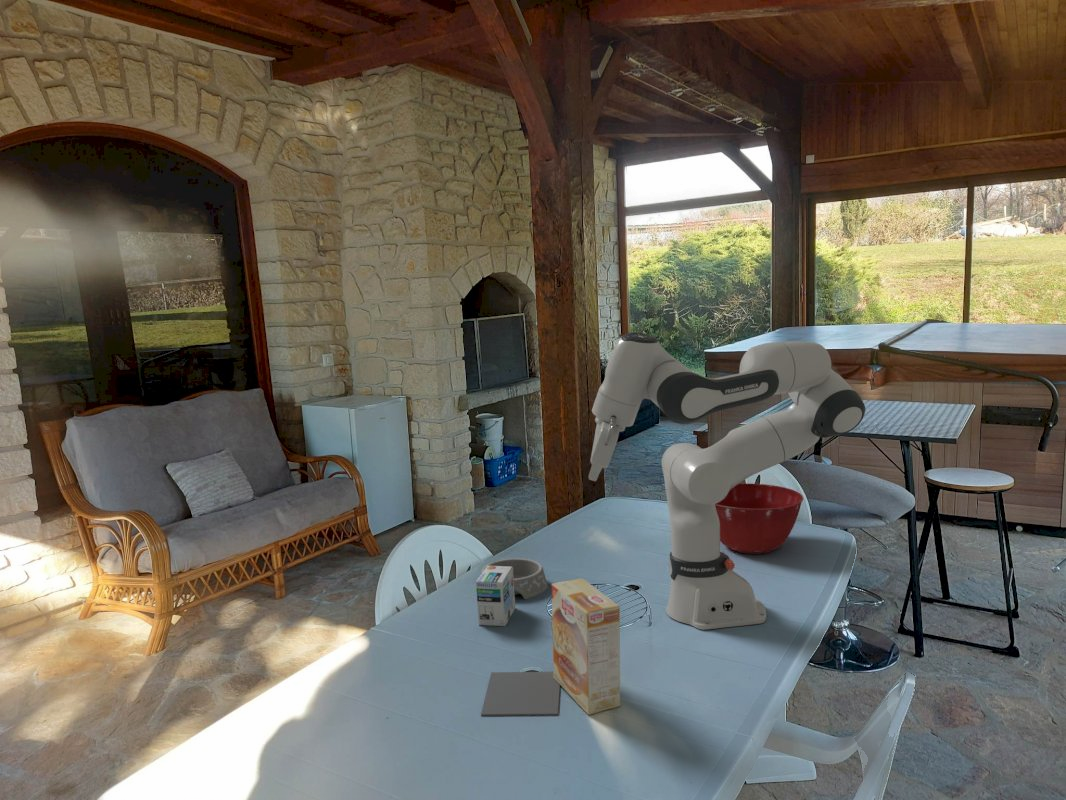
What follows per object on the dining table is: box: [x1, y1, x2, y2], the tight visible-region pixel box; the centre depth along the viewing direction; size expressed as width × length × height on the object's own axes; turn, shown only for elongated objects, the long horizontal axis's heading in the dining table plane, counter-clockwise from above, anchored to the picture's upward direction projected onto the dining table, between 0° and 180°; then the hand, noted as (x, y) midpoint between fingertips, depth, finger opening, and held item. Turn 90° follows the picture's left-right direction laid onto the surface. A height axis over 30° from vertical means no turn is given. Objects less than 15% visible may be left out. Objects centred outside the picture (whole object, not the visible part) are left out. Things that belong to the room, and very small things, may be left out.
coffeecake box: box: [551, 577, 621, 716], centre depth 138 cm, size 15×7×20 cm, turn 23°
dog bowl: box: [480, 557, 549, 600], centre depth 193 cm, size 17×18×5 cm
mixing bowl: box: [715, 482, 804, 555], centre depth 213 cm, size 28×28×16 cm
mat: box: [480, 671, 561, 717], centre depth 141 cm, size 14×15×1 cm
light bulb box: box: [475, 566, 516, 627], centre depth 175 cm, size 11×7×11 cm, turn 168°
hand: (593, 471), depth 152 cm, fingers open, 8 cm apart
